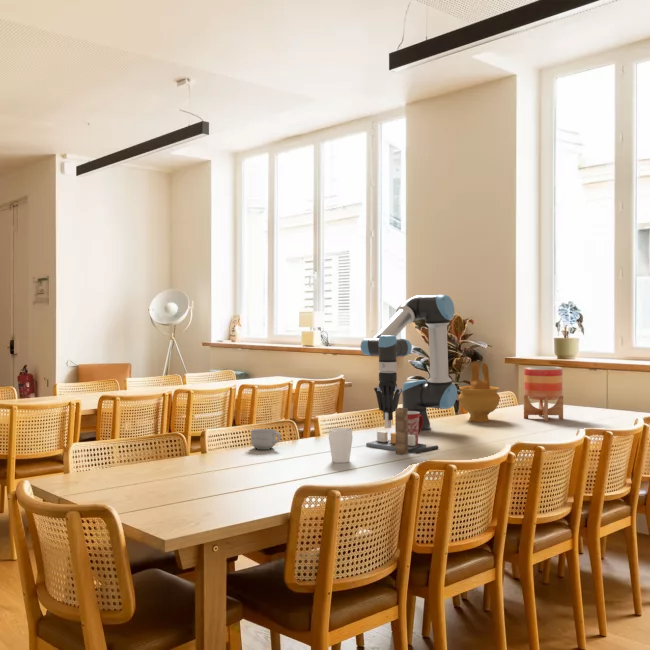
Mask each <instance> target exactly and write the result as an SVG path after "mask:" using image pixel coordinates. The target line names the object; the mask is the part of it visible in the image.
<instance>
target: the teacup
mask: <svg viewBox="0 0 650 650" xmlns="http://www.w3.org/2000/svg"><path fill="white" fill-rule="evenodd" d="M281 439H282V435H281V433H280V431H279V432H278V431H277V429H274V428H273V429H272V428H258V429H257V428H256V429H251V430H250V443H251V445H252V447H254V449H255V448H257V449H256V450H271V449H273V448H274V446H275V445H276V444H277V443H279V442H280V441H281ZM270 448H271V449H270Z"/></svg>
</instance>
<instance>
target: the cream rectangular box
mask: <svg viewBox="0 0 650 650" xmlns="http://www.w3.org/2000/svg"><path fill="white" fill-rule="evenodd" d="M408 445H410V446H414V445H415V435H408Z"/></svg>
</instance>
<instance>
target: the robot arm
mask: <svg viewBox="0 0 650 650" xmlns="http://www.w3.org/2000/svg"><path fill="white" fill-rule="evenodd" d="M454 316H455V305H454V302H453V300H452V298H451V297H450V296H449V295H447V294H440V293H439V294H418V295H415V296H413V297H410V298H408V299H407V300H405V301H404V302H403V303H401V304H400V305H399V306H398V307H397V309H396V311H395V313H394V314H393V315H392V317H391V318H390V319H388V321H386V322H385V324H384V325H383V326H382V327H381V328H380V329H379V330H378V331H377V332H376V333H375V334H374V335H373V336H372V337H371V338H369V337H367V338H363V340H361V342H360V352H361V353H362V355H365V356H370V357H374V356H375V357H378V371H379V372H378V381H379V382H378V386H376V387H373V390H374V392H375V394H376V400H377V404H378V409H379V411H382V413H383V420H384V428H385V429H390V428H392V420H393V417H394V416H393V415H394V412H395V409H397V408H399V407H398V406H399V401H400V395H402V402H401V403H402V408H407V409H408V411H416V412H420V414H419V415H421V416H422V417H423V425H422V428H421V431H424V430H429V429H431V422H430V419H429V416H428V412H427V408H429V409H430V408H431V409H441V410H448V409H451V408H453V406H454V405H455V403H456V401H457V397H458V388H457V386H456V385H455V384H453V380H452V379H451V378H450V375H449V358H448V357H449V354H448V352H449V351H448V346H449V345H448V328H447V327H448V326H449V325H450V324H451V320H452V319H453V318H454ZM416 320H424V324H425V325H426V326H427V327H428V347H429V348H428V352H429V378H428V379H427V380H426V379H420V380H419V379H418V380H410V381H406V382H405V381H404V382H403V383H402V388H399V387H398V384H397V380H398V379H397V376H398V375H397V371H398V370H397V369H398V367H397V364H398V363H397V358H399V357H405V356H408V355H410V353H411V352H412V349H413V347H412V343H411V342H410V341H409V339H406V338H397V336H398V335H399V334H400V333H401V332H402V331H403V329H405V328H406V326H408V324H412V323H413V322H414V321H416ZM401 393H402V394H401ZM419 423H420V418H419Z"/></svg>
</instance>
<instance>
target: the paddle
mask: <svg viewBox="0 0 650 650" xmlns="http://www.w3.org/2000/svg"><path fill="white" fill-rule="evenodd" d="M388 440H389V439H388V431H381V430H379V431H378V430H377V431H376V441H381V442H387V441H388Z"/></svg>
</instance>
